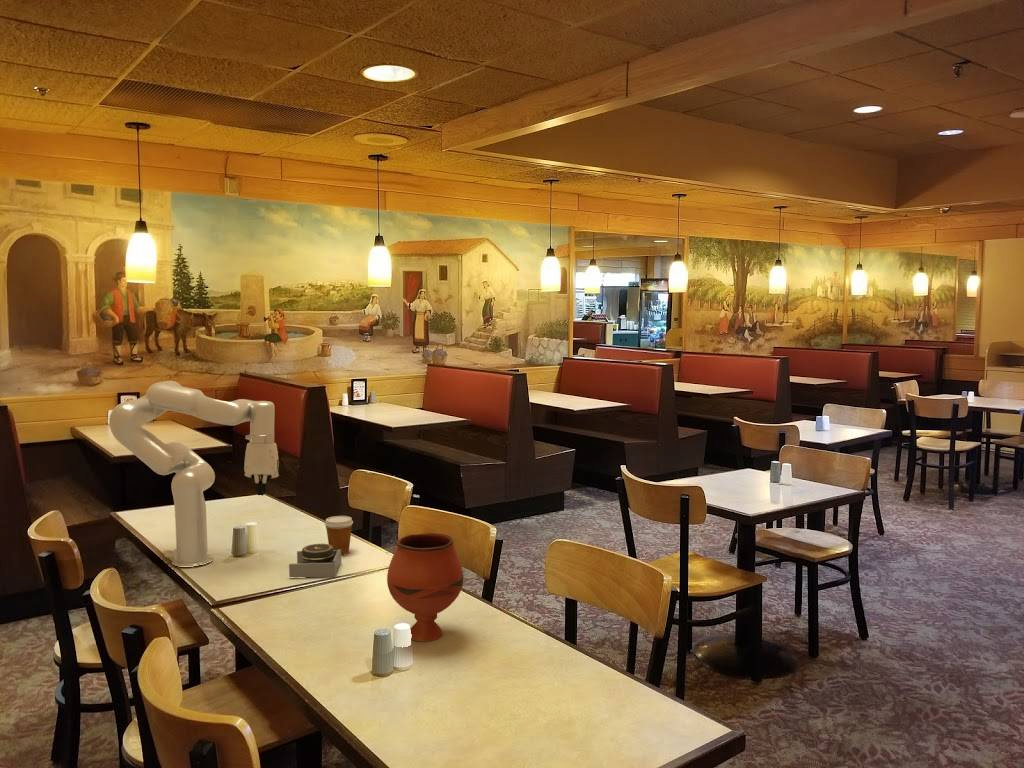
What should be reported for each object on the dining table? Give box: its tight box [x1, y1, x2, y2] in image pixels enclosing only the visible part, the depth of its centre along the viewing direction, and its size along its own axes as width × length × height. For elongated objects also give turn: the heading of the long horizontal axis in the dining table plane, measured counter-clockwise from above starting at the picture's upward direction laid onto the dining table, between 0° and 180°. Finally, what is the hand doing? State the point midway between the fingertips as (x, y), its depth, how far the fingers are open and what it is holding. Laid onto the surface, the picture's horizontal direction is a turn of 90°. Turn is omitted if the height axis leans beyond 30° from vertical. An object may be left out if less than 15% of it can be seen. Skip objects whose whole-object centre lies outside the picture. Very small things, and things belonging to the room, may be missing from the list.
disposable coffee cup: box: [324, 515, 354, 556], centre depth 271 cm, size 10×10×12 cm
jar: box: [301, 543, 334, 563], centre depth 253 cm, size 10×10×8 cm
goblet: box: [386, 532, 464, 642], centre depth 202 cm, size 19×19×25 cm
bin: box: [288, 549, 342, 578], centre depth 253 cm, size 14×14×5 cm
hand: (261, 494), depth 259 cm, fingers closed
